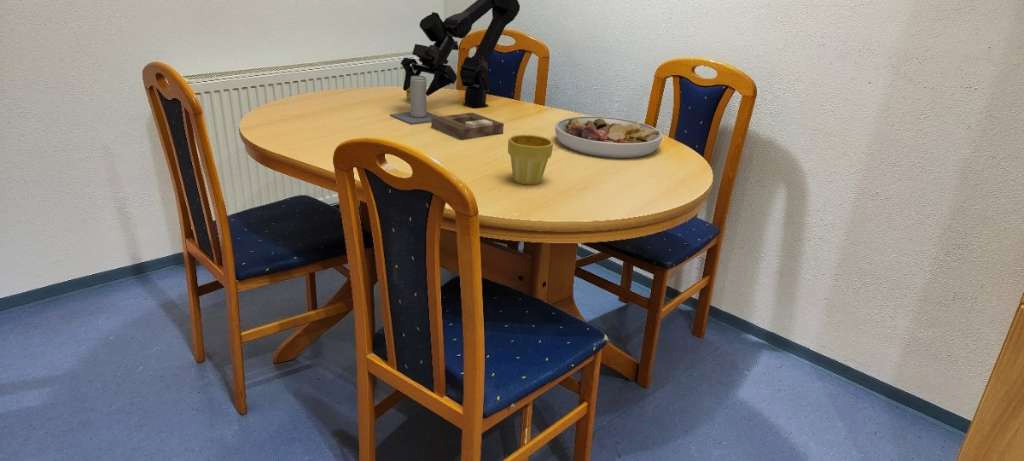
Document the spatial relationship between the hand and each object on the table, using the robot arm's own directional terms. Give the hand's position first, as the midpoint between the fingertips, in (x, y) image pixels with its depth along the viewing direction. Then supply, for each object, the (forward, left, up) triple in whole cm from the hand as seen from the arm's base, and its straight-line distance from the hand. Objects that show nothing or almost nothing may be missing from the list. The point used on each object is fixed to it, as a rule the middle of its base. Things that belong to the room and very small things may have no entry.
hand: (415, 92), depth 203 cm
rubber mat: (-1, 0, -8) cm, 8 cm away
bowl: (-33, +50, -9) cm, 60 cm away
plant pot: (+8, +62, -8) cm, 63 cm away
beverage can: (-1, 0, -8) cm, 8 cm away
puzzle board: (-6, +19, -8) cm, 21 cm away
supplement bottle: (-12, -19, -8) cm, 24 cm away
